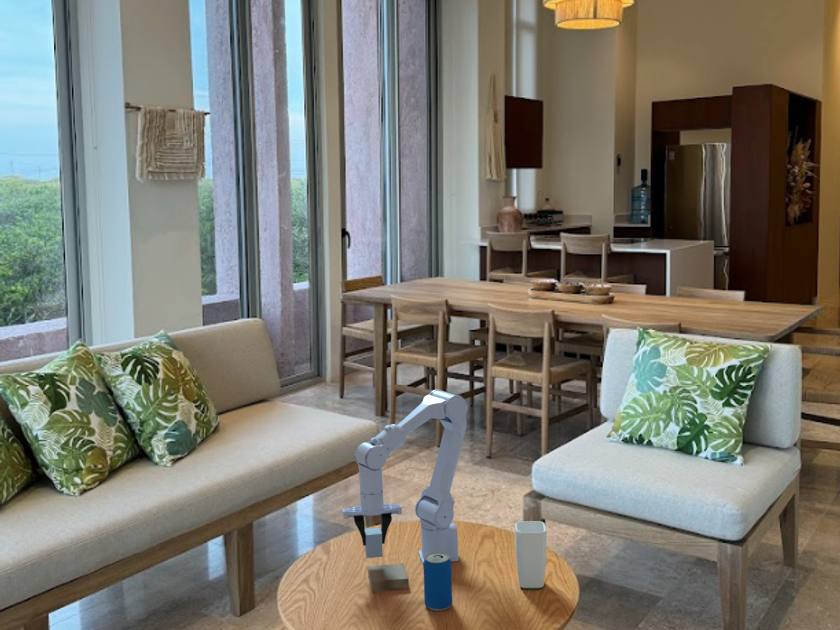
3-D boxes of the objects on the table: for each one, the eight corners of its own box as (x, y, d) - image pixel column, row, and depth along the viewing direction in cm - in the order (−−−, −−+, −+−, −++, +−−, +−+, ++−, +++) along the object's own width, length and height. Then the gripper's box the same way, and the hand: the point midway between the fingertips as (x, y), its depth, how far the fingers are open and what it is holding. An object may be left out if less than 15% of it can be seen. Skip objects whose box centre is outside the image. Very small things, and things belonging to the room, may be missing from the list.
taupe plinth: (403, 574, 228) (403, 563, 228) (408, 590, 219) (408, 578, 219) (368, 577, 227) (368, 566, 226) (372, 593, 218) (371, 581, 218)
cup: (544, 578, 223) (544, 520, 220) (547, 591, 215) (547, 532, 213) (515, 578, 223) (514, 521, 221) (517, 591, 216) (516, 532, 214)
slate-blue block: (380, 550, 228) (380, 527, 227) (382, 556, 224) (381, 533, 223) (365, 551, 227) (364, 528, 226) (366, 558, 223) (365, 535, 223)
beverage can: (455, 601, 212) (454, 553, 210) (447, 614, 206) (446, 564, 204) (429, 598, 214) (428, 550, 212) (420, 610, 208) (419, 561, 206)
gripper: (398, 483, 228) (400, 534, 230) (341, 487, 226) (343, 539, 228) (402, 492, 221) (403, 545, 223) (342, 497, 219) (345, 550, 221)
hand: (373, 543), depth 225 cm, fingers closed on slate-blue block, 4 cm apart
